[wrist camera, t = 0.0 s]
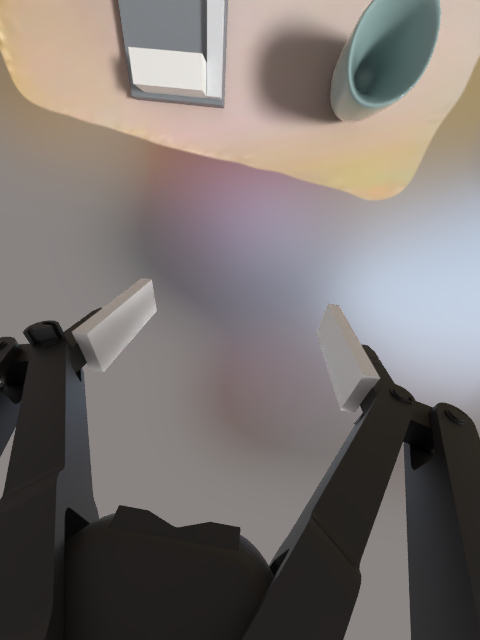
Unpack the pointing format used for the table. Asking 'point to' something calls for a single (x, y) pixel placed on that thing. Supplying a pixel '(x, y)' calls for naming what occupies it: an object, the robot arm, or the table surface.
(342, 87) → the cup
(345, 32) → the table surface
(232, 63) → the table surface
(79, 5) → the table surface
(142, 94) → the rail board
